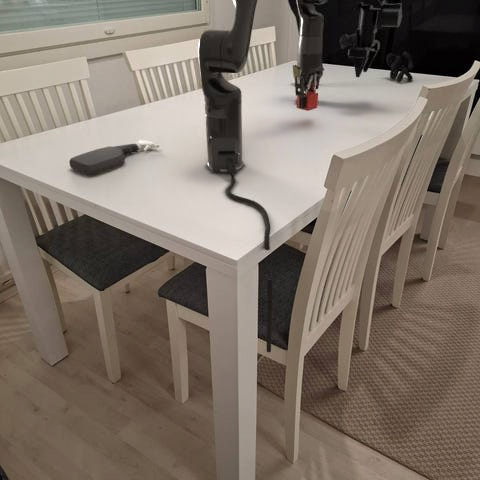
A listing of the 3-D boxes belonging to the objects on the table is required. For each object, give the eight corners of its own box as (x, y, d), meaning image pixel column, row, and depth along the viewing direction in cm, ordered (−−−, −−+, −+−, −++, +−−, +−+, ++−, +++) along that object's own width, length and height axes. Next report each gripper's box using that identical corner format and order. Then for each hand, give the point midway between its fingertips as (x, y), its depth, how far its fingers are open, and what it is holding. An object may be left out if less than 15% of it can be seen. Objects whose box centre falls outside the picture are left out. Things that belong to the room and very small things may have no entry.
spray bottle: (67, 168, 120) (139, 144, 136) (91, 178, 114) (163, 151, 130) (65, 157, 118) (137, 134, 134) (89, 167, 112) (162, 142, 128)
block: (305, 105, 150) (306, 90, 147) (317, 108, 147) (318, 93, 144) (296, 108, 147) (297, 93, 144) (307, 110, 144) (308, 95, 141)
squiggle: (400, 92, 202) (376, 71, 205) (417, 76, 202) (392, 56, 205) (405, 81, 191) (380, 59, 194) (423, 64, 191) (397, 42, 194)
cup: (289, 85, 195) (289, 66, 191) (295, 82, 200) (296, 63, 196) (305, 87, 192) (306, 67, 188) (311, 83, 197) (312, 64, 193)
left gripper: (309, 46, 144) (305, 99, 153) (287, 53, 134) (285, 109, 143) (330, 48, 141) (326, 102, 150) (310, 55, 131) (306, 113, 140)
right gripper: (351, 21, 159) (347, 67, 167) (335, 28, 145) (330, 77, 154) (383, 23, 155) (376, 70, 163) (369, 29, 141) (362, 80, 149)
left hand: (306, 105), depth 146 cm, fingers closed on block, 5 cm apart
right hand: (361, 74), depth 157 cm, fingers open, 9 cm apart
